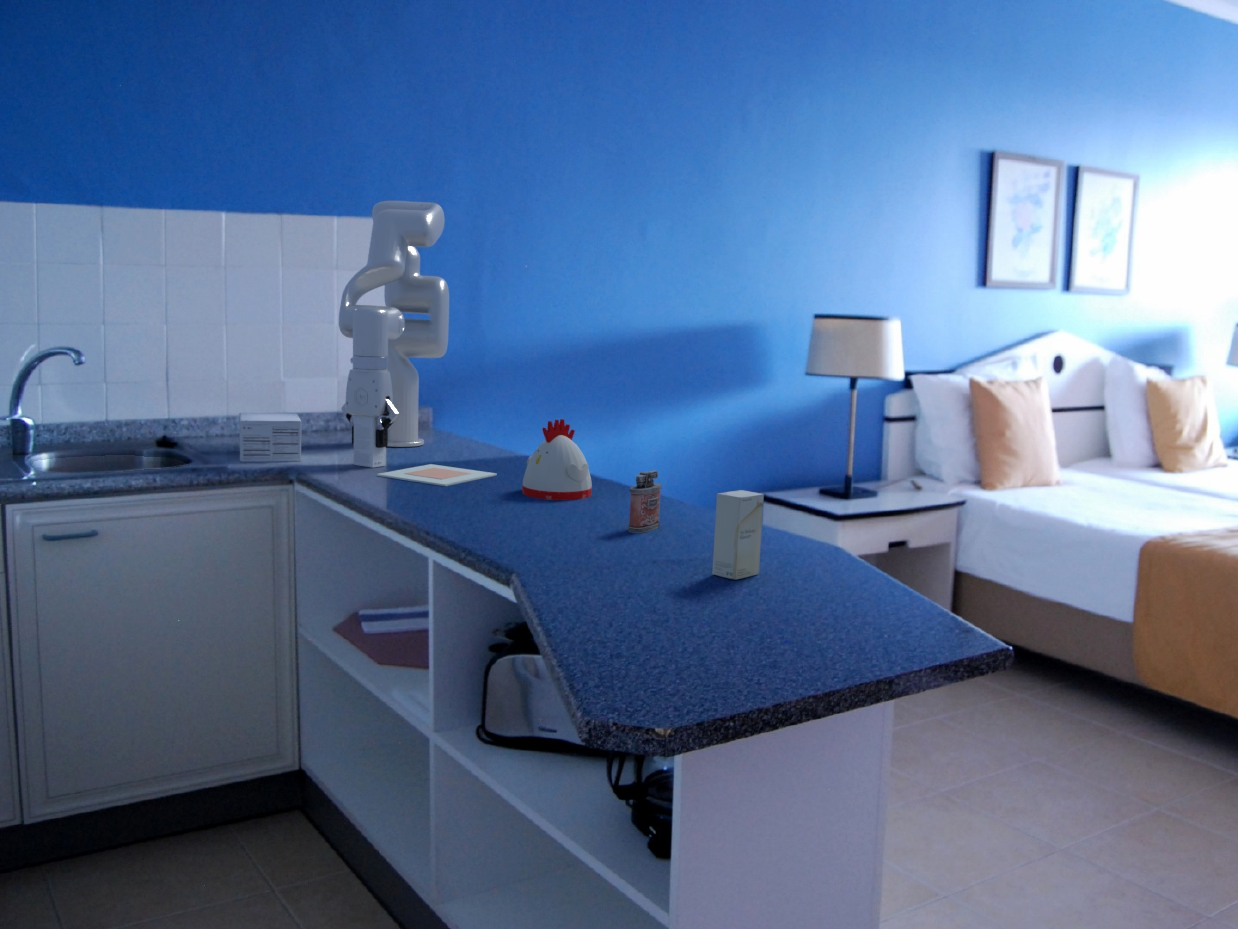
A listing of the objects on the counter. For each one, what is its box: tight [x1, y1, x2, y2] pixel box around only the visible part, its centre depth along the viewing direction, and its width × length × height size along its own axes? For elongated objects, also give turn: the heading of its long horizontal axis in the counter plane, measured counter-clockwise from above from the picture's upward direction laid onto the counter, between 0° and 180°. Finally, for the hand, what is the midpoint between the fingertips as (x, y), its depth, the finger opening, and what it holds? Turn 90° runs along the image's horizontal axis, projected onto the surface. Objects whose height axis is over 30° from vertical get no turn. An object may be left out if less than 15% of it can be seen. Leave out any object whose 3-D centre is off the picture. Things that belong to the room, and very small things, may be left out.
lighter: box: [627, 470, 663, 534], centre depth 185 cm, size 8×3×10 cm, turn 148°
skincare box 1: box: [353, 414, 387, 469], centre depth 237 cm, size 6×4×12 cm
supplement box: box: [238, 412, 302, 463], centre depth 244 cm, size 17×13×9 cm
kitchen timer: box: [521, 418, 593, 501], centre depth 214 cm, size 14×14×15 cm
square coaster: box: [376, 463, 498, 487], centre depth 229 cm, size 18×18×1 cm
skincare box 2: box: [711, 489, 765, 580], centre depth 156 cm, size 6×4×12 cm
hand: (369, 444), depth 237 cm, fingers closed on skincare box 1, 6 cm apart
